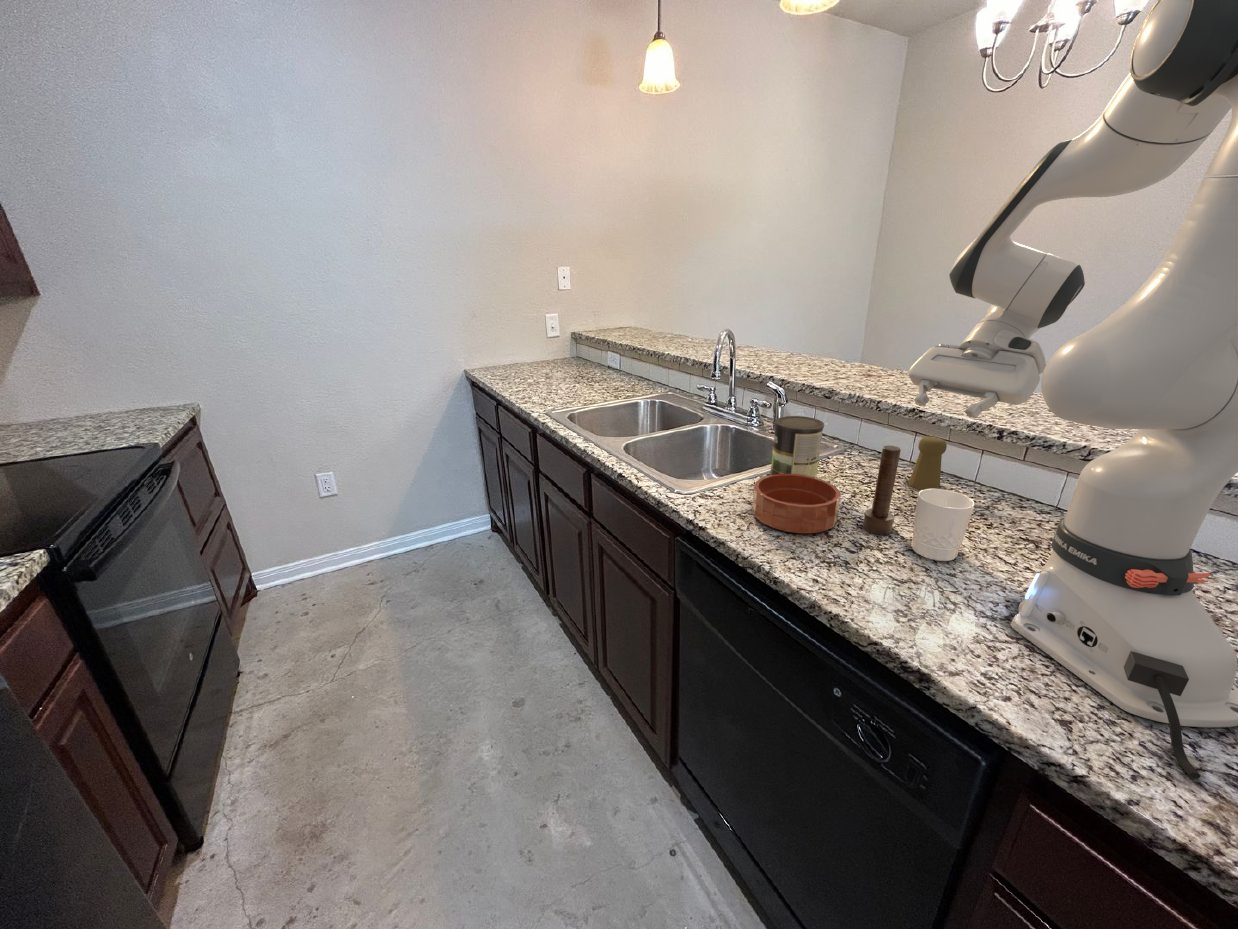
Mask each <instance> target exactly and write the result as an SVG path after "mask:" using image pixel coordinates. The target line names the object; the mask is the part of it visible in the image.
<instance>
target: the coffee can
mask: <svg viewBox="0 0 1238 929" xmlns="http://www.w3.org/2000/svg"><path fill="white" fill-rule="evenodd" d="M824 428H825V423H824V422H823V421H822V420H820V419H817V418H814V417H811V416H810V417H809V416H801V415H786V416H785V415H784V416H781V417H778V418H776V419H775V420H774V430H773V431H774V432H773V443H772V452H771V453H772V454H771V465H770V473H769V475H775V474H799V475H806V476H811V477H815V478H817V475H818V469H819V468H818V467H819V460H820V455H821V454H820V453H821V446H822V438H823V430H824Z"/></svg>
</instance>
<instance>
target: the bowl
mask: <svg viewBox="0 0 1238 929" xmlns="http://www.w3.org/2000/svg"><path fill="white" fill-rule="evenodd" d="M752 498H753V499H752V513H753V515H754V517H755V518H756V519H757V520H758V521H759V522H761V523H762V524H764V525H766V526H768V527H770V528H772V529H775V530H780V531H783V532H786V533H787V532H788V533H793V534H817V533H821V532H826V531H828V530H830V529H832V528H833V527H834V526H835V525H836V524H837V521H838V515H839V509H840V502H841V490H839V489H838V488H837V486H835V485H834V484H832V483H830V482H828V481H827V480H823V479H821V478H818V477H816V478H815V477H811V476H806V475H799V474H775V475H770V474H769V475H766V476H762V477H760V478H759V479H757V480H756V481H755V484H754V487H753V496H752Z"/></svg>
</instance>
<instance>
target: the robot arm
mask: <svg viewBox="0 0 1238 929" xmlns="http://www.w3.org/2000/svg"><path fill="white" fill-rule="evenodd" d="M1132 46H1133V47H1132V49H1131V54H1130V58H1129V74H1128V75H1127V76H1126V78H1125V79H1124V80H1123V81H1122V83H1121V85H1120V86H1119V87H1118V89H1117V90H1116V92H1115V93H1114V95H1113V96H1112V98H1111V100H1110V101H1109V102H1108V104H1107V106H1106V107H1105V108H1104V110H1103V112H1102V113H1101V114H1100V116H1099V117H1098V119H1097V120H1096V121H1095V122H1094V123H1093V124H1092V125H1091V126H1090V127H1089V128H1087V130H1085V131H1084V132H1082V133H1081V134H1080V135H1078V136H1076V137H1075V138H1073V139H1067V140H1064V141H1063V140H1062V141H1060V142H1058V143H1057V144H1056V145H1054V146H1053V147H1051V149H1050V150H1049V151H1047V153H1045V154H1044V155H1043V157H1042V158H1041V159H1039V161H1038V162H1037V163H1036V164H1035V166H1034V167H1033V168H1032V169H1031V170H1030V171H1029V173H1028V174H1027V175H1026V176H1025V177H1024V178H1023V179H1022V181H1021V182H1020V183H1019V185H1018V186H1017V187H1016V188H1015V190H1014V191H1013V192H1012V193H1011V195H1010V196H1009V197H1008V198H1007V200H1006V201H1005V202H1004V203H1003V205H1002V206H1001V207H1000V208H999V210H998V211H997V212H996V213H995V215H994V216H993V217H992V219H991V220H990V221H989V222H988V224H987V225H986V226H985V227H984V228H983V230H982V231H981V232H980V234H979V235H978V236H977V237H976V238H974V240H972V241H971V242H970V243H969V244H968V245H967V246H966V247H965V248H964V249H963V250H962V251H961V252H960V253H959V255H958V256H957V258H956V259H955V261H954V262H953V264H952V267H951V269H950V273H949V281H950V284H951V286H952V288H953V291H954V292H955V293H956V294H958V295H961V296H965V297H968V298H972V299H977V300H980V301H983V302H985V303H987V304H990V306H989V307H988V308H987V311H986V314H985V316H984V317H982V319H980V320H979V321H978V322H977V323H976V324H975V325H974V326H973V328H972V329H971V330H970V332H968V334H967V336H966V337H965V338H964V339H963V341H962V342H961V343H960V345H957V344H954V345H953V344H947V343H939V344H938V345H935V346H934V345H933V346H931V347H930V348H928V349H927V350H926V352H924V353H923V354H922V355H921V356H920V357H919V358H918V359H917V360H916V361H915V362H914V363H913V364H912V366H910V368H909V369H908V377H909V379H910V381H911V383H912V384H913V385H914V386H918V394H917V395H916V397H915V398H914V403H915V405H918V406H921V407H925V406H926V405H927V403H928V402H930V397H929V396H928V394H927V393H930V392H931V391H932V390H933V389H934V390H938V391H945V392H949V393H954V394H959V395H964V396H970V397H973V398H979V399H982V400H980V401H979V402H977V403H970V404H969V405H968V407H967V408H966V409H965V411H964V412H965V414H966V416H967V417H969V418H972V419H977V418H979V417H980V414H981V413H983V412H984V411H987V410H988V409H991V408H992V407H993V408H994V406H996V405H997V404H998V403H999V402H1001V403H1005V404H1008V405H1009V404H1010V405H1015V406H1019V405H1021V404H1024V403H1025V402H1027V401H1028V400H1029V399H1030V398H1031V396H1032V395H1033V394H1034V392H1035V391H1036V389H1037V387H1038V385H1039V384H1040V388H1041V394H1042V398H1043V399H1044V403H1045V405H1046V406H1047V408H1048V409H1049V410H1050V412H1052V414H1053V415H1054V416H1056V417H1057V418H1059V419H1061V420H1063V421H1068V422H1073V423H1077V424H1081V425H1085V426H1091V427H1098V428H1103V429H1109V430H1138V431H1137V432H1136V433H1135V434H1133V436H1132V437H1131V438H1129V439H1128V440H1127V441H1126V442H1124V443H1123V444H1121V445H1120V446H1118V447H1116V448H1115V449H1112V450H1111V451H1109V452H1106V453H1104V454H1102V455H1101V454H1100V455H1099V456H1097V457H1095V458H1093V459H1092V460H1090V461H1089V462H1088V463H1087V464H1085V465H1084V467H1083V468H1082V469H1081V471H1080V473H1079V476H1078V478H1077V481H1076V485H1075V487H1074V490H1073V492H1072V493H1073V494H1072V497H1071V499H1070V503H1069V505H1068V508H1067V510H1066V511H1067V512H1066V514H1065V517H1063V518H1062V519H1060V520H1059V523H1058V525H1057V527H1056V529H1054V532H1053V538H1052V541H1051V549H1052V551H1051V553H1050V555H1049V558H1048V560H1047V561H1046V563H1045V564H1044V566H1043V567H1042V569H1041V570H1040V573H1039V572H1038V573H1036V574H1035V576H1034V578H1033V580H1032V582H1031V583H1030V586H1028V589H1027V591H1026V593H1025V596H1024V598H1023V599H1022V600H1021V601H1020V603H1019V605H1018V613H1017V614H1016V615H1014V616H1013V618H1012V619H1011V622H1010V627H1011V628H1012V629H1013V630H1014V631H1015V632H1017V633H1018V634H1019V635H1021V636H1022V637H1023V638H1024V639H1026V640H1027V641H1029V642H1030V643H1031V644H1033V645H1034V646H1036V647H1037V648H1039V649H1040V650H1041V651H1042V652H1044V653H1045V654H1047V655H1048V656H1049V657H1051V658H1052V659H1053V660H1055V661H1056V662H1057V663H1059V664H1060V665H1061V666H1063V667H1064V668H1065V669H1067V670H1068V671H1069V672H1070V673H1072V674H1074V675H1075V676H1076V677H1077V678H1079V679H1080V680H1082V682H1084V683H1086V684H1087V685H1088V686H1090V687H1091V688H1092V689H1094V690H1095V691H1096V692H1098V693H1099V694H1100V695H1102V696H1103V697H1105V698H1106V699H1107V700H1108V701H1110V702H1111V703H1113V705H1115V706H1117V707H1118V708H1120V709H1121V710H1123V711H1125V712H1126V713H1128V714H1132V715H1134V716H1137V717H1141V718H1143V719H1147V720H1152V721H1155V722H1160V723H1162V724H1163V723H1164V724H1168V725H1169V735H1170V743H1171V748H1172V751H1173V754H1174V757H1175V759H1176V761H1177V763H1178V764H1179V766H1180V767H1181V769H1183V771H1184V772H1185V773H1186V775H1188V777H1189V778H1191V779H1193V780H1197V779H1200V778H1201V774H1200V772H1199V771H1198V770H1197V769H1196V768H1195V767H1194V766H1193V765H1192V764H1191V762H1190V760H1189V759H1188V757H1187V754H1186V752H1185V748H1184V742H1183V733H1182V727H1191V728H1232V727H1233V728H1234V727H1238V687H1237V686H1236V685H1235V684H1234V683H1235V679H1236V675H1237V671H1238V655H1237V652H1236V650H1235V649H1234V647H1233V646H1232V645H1231V644H1230V642H1229V641H1228V640H1227V638H1226V637H1225V635H1224V631H1223V630H1222V628H1221V627H1220V626H1219V625H1217V624H1216V622H1215V621H1214V620H1213V618H1211V616H1210V614H1209V613H1208V611H1206V609H1205V607H1204V605H1203V604H1202V603H1201V601H1200V599H1199V598H1198V597H1197V596H1196V595H1195V593H1194V591H1193V589H1194V587H1195V583H1208V581H1209V580H1206V579H1205V578H1209V577H1212V574H1211V573H1209V572H1194V561H1193V553H1192V551H1191V547H1192V545H1193V543H1194V541H1195V539H1196V537H1197V535H1198V533H1199V531H1200V529H1201V526H1202V524H1204V521H1205V519H1206V517H1207V515H1208V513H1209V511H1210V509H1211V508H1212V505H1213V504H1214V501H1215V500H1216V499H1217V497H1218V496H1219V494H1220V493H1221V492H1222V490H1223V489H1224V487H1226V485H1227V484H1228V483H1229V482H1230V481H1231V479H1233V478H1234V476H1235V475H1236V474H1238V0H1156V1H1155V3H1154V4H1153V6H1152V8H1151V9H1150V10H1149V12H1148V13H1147V15H1146V16H1145V19H1144V20H1143V22H1142V24H1141V26H1140V28H1139V30H1138V32H1137V35H1136V38H1135V40H1134V43H1133V45H1132ZM1230 110H1231V118H1230V122H1229V124H1228V126H1227V129H1226V132H1225V134H1224V135H1223V138H1222V140H1221V142H1220V143H1219V145H1218V148H1217V149H1216V151H1215V153H1214V155H1213V157H1212V159H1211V161H1210V163H1209V165H1208V166H1207V169H1206V172H1205V173H1204V176H1205V177H1203V178H1202V180H1201V182H1200V185H1199V186H1198V189H1197V191H1196V193H1195V195H1194V197H1193V199H1192V201H1191V204H1190V205H1189V207H1188V210H1187V211H1186V214H1185V216H1184V217H1183V220H1182V222H1181V224H1180V226H1179V228H1178V229H1177V232H1176V233H1175V236H1174V238H1173V239H1172V241H1171V243H1170V245H1169V247H1168V249H1167V251H1166V253H1165V254H1164V256H1163V257H1162V259H1161V261H1160V262H1159V263H1158V265H1157V266H1156V268H1155V269H1154V271H1152V273H1151V274H1150V275H1149V277H1148V278H1147V279H1145V282H1143V284H1142V285H1140V287H1139V288H1138V289H1137V290H1136V291H1135V292H1134V293H1133V294H1132V295H1131V296H1130V297H1129V298H1128V299H1127V300H1126V301H1125V302H1124V303H1123V304H1122V305H1121V306H1119V307H1118V308H1117V309H1116V310H1115V311H1114V312H1112V314H1109V316H1108V317H1106V318H1104V320H1102V321H1100V322H1099V323H1097V324H1096V325H1095V326H1092V327H1091V328H1090V329H1088V330H1086V331H1084V332H1083V333H1081V334H1079V335H1076V336H1074V337H1073V338H1070V339H1067V341H1065V342H1063V344H1062V345H1061V346H1059V347H1058V348H1057V349H1056V350H1055V351H1054V352H1053V353H1052V355H1051V356H1050V358H1049V359H1048V361H1046V357H1045V354H1044V351H1043V349H1042V346H1041V345H1040V343H1039V342H1038V341H1035V340H1033V339H1031V337H1032V336H1033V335H1034V334H1036V333H1037V332H1038V331H1039V330H1040V329H1042V328H1046V327H1048V326H1050V325H1052V324H1055V323H1057V322H1058V321H1059V320H1060V319H1061V318H1062V317H1063V315H1064V314H1065V312H1066V310H1067V308H1068V306H1070V304H1071V303H1072V302H1073V301H1074V300H1075V299H1076V298H1077V297H1078V295H1080V293H1081V292H1082V290H1083V288H1084V287H1085V285H1086V283H1085V282H1086V281H1085V274H1084V270H1083V268H1082V266H1081V265H1080V264H1078V263H1077V262H1074V261H1072V260H1070V259H1067V258H1064V257H1061V256H1058V255H1055V254H1052V253H1048V252H1045V251H1042V250H1039V249H1035V248H1033V247H1030V246H1026V245H1024V244H1020V243H1018V242H1016V241H1015V240H1013V239H1012V238H1011V236H1012V235H1013V234H1014V233H1015V231H1016V230H1017V229H1018V228H1019V227H1020V225H1021V224H1022V223H1023V222H1024V221H1025V220H1026V219H1027V217H1029V215H1030V214H1032V212H1033V211H1034V209H1036V208H1037V207H1039V206H1040V205H1043V204H1045V203H1048V202H1052V201H1059V200H1066V199H1075V198H1079V199H1080V198H1109V197H1116V196H1117V197H1118V196H1122V195H1128V194H1131V193H1134V192H1138V191H1140V190H1143V189H1147V188H1148V187H1151V186H1153V185H1155V184H1158V183H1160V182H1161V181H1163V180H1164V179H1167V178H1169V177H1170V176H1171V175H1173V174H1174V173H1175V172H1176V171H1177V170H1178V169H1179V168H1181V167H1182V165H1183V164H1185V163H1186V161H1188V159H1189V158H1191V156H1192V155H1193V154H1194V153H1195V152H1196V151H1198V149H1199V148H1200V147H1201V146H1202V144H1204V142H1205V141H1206V140H1207V139H1208V138H1209V137H1210V135H1211V134H1212V133H1213V132H1214V131H1215V129H1216V128H1217V127H1218V126H1219V124H1220V123H1221V122H1222V120H1223V119H1224V118H1225V117H1226V115H1227V114H1228V113H1229V112H1230ZM1207 176H1208V177H1207ZM1181 726H1182V727H1181Z"/></svg>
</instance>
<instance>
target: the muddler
mask: <svg viewBox="0 0 1238 929" xmlns="http://www.w3.org/2000/svg"><path fill="white" fill-rule="evenodd" d="M901 451H902V449H901V447H899V446H895V445H883V446H882V451H881V456H880V461H879V466H878V472H877V477H876V478H877V479H876V484H875V489H874V496H873V501H872V505H871V508H867V509H866V510H865V512H864V516H863V517H864V518H863V523H862V528H863V529H864V530H865V531H866V532H868V533H870V534H873V535H877V536H878V535H879V536H884V535H886V536H887V535H890V534H891V533H892V532H893V526H894V525H893V524H894V521H895V516H894V514H893V513H892V512H890V507H891V503H892V498H893V492H894V487H895V481H896V477H897V472H898V466H899V462H900V456H901Z"/></svg>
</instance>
